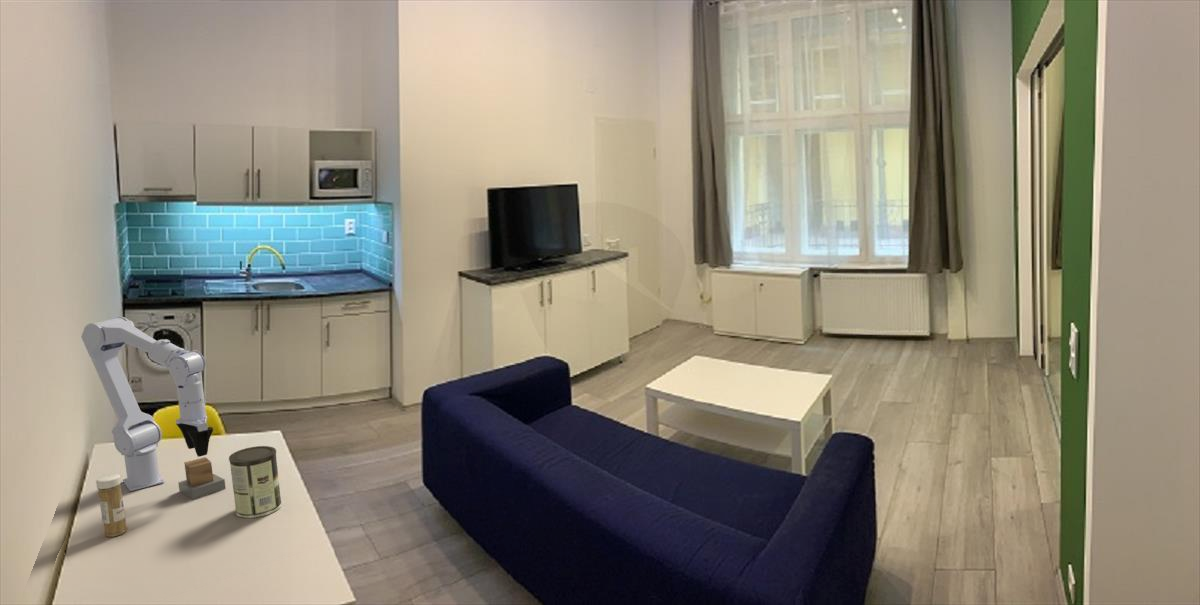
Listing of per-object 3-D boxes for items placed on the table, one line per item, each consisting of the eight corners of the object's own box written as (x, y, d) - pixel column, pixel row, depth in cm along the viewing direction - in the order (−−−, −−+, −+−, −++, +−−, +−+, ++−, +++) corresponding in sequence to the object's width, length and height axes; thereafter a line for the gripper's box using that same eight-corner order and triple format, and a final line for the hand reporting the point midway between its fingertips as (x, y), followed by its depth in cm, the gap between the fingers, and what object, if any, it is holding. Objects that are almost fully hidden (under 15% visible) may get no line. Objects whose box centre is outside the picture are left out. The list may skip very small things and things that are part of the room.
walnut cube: (186, 480, 195) (184, 462, 194) (207, 475, 199) (205, 457, 198) (192, 486, 192) (189, 467, 191) (213, 480, 195) (211, 462, 194)
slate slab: (179, 493, 195) (178, 482, 194) (211, 483, 201) (210, 472, 201) (193, 501, 190) (192, 489, 190) (225, 490, 196) (224, 479, 196)
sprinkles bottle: (128, 533, 172) (120, 477, 170) (104, 539, 170) (95, 482, 168) (127, 526, 176) (119, 471, 174) (103, 531, 174) (95, 476, 171)
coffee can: (257, 497, 190) (251, 443, 188) (291, 502, 187) (285, 447, 184) (225, 515, 181) (218, 459, 178) (259, 521, 177) (253, 463, 175)
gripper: (165, 397, 194) (172, 448, 196) (182, 410, 183) (189, 463, 186) (195, 391, 199) (201, 441, 201) (213, 403, 188) (219, 455, 191)
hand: (197, 451), depth 194 cm, fingers open, 7 cm apart
